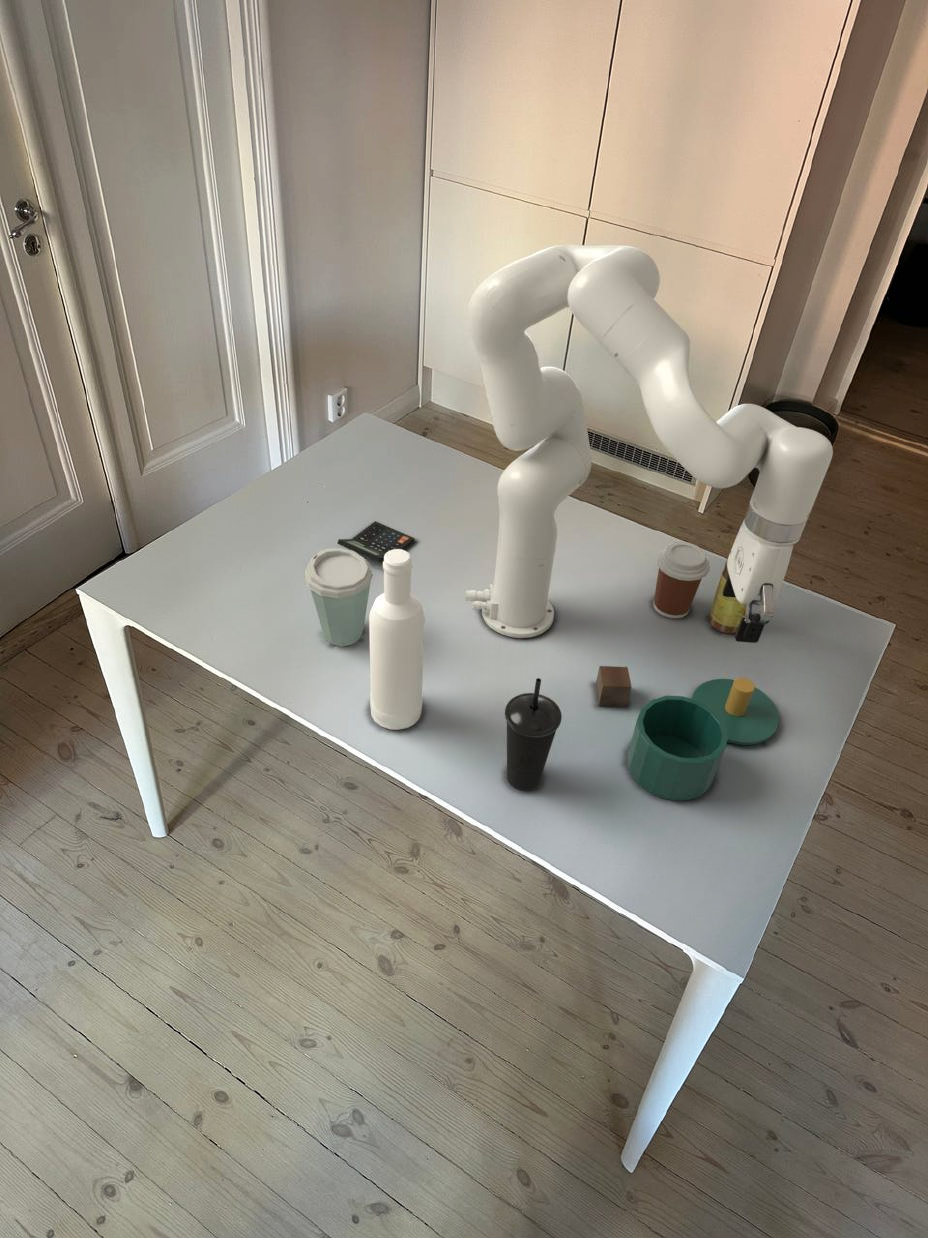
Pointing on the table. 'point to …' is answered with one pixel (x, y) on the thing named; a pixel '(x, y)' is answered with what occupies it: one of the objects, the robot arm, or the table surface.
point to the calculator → (377, 541)
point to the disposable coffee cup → (340, 593)
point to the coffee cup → (679, 578)
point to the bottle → (396, 647)
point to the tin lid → (740, 709)
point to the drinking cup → (529, 736)
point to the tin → (676, 747)
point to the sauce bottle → (726, 609)
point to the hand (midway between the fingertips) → (739, 617)
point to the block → (613, 686)
